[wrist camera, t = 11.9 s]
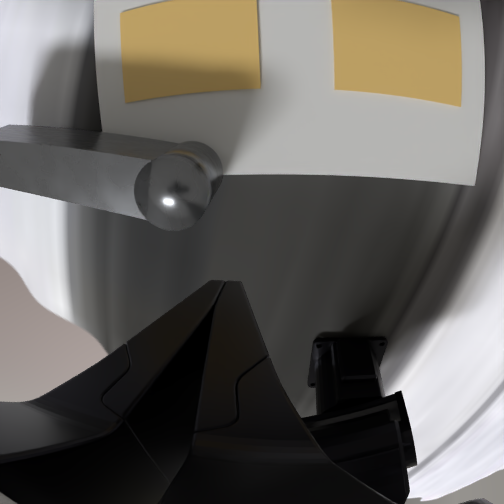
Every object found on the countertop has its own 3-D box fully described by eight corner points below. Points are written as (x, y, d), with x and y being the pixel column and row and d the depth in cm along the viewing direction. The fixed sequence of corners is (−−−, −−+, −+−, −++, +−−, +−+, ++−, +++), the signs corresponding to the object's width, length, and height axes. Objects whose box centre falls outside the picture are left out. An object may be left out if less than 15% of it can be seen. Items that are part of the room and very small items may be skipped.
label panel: (465, 190, 18) (476, 198, 16) (119, 186, 20) (108, 194, 19) (470, -11, 10) (481, -15, 9) (102, -13, 13) (90, -18, 12)
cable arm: (228, 147, 17) (213, 165, 13) (217, 206, 18) (201, 238, 15) (9, 120, 16) (-29, 134, 13) (10, 166, 18) (-26, 185, 14)
